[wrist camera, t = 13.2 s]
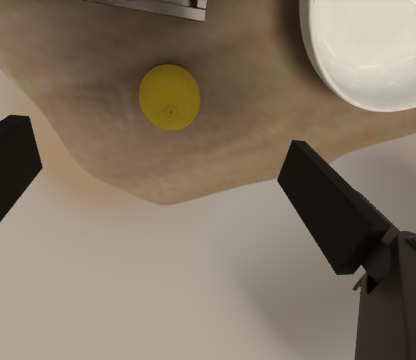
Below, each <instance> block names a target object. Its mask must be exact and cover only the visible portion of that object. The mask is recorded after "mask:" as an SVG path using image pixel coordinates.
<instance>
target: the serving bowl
mask: <svg viewBox="0 0 416 360" xmlns="http://www.w3.org/2000/svg"><path fill="white" fill-rule="evenodd" d="M299 15H300V26H301V32H302V37H303V42H304V45H305V49H306V52H307V54H308V57H309V59H310V61H311V64H312V65H313V67H314V69H315V71H316V72H317V74H318V75H319V77H320V78H321V79H322V81H323V82H324V83H325V84H326V85H327V86H328V87H329V88H330V89H331V90H332V91H333V92H334V93H335V94H336V95H338V96H339V97H340V98H342V99H343V100H344V101H346V102H348V103H350V104H351V105H353V106H356V107H358V108H361V109H365V110H368V111H374V112H396V111H402V110H407V109H411V108H415V107H416V0H299Z"/></svg>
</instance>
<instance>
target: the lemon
mask: <svg viewBox="0 0 416 360" xmlns="http://www.w3.org/2000/svg"><path fill="white" fill-rule="evenodd" d="M139 102H140V106H141V109H142V111H143V113H144V115H145V117H146V118H147V119H148V120H149V121H150V123H152V124H153V125H154V126H156V127H158V128H160V129H162V130H168V131H175V130H179V129H183V128H184V127H186V126H188V125H189V124H190V123H191V122H192V121H193V120H194V118H195V117H196V115H197V113H198V110H199V107H200V91H199V87H198V85H197V83H196V81H195V79H194V78H193V76H192V75H191V74H190V73H189V72H188V71H186V70H185V69H184V68H182V67H179V66H177V65H172V64H164V65H159V66H157V67H155V68H153V69H152V70H150V71H149V72H148V73H147V74H146V75H145V77H144V79H143V80H142V82H141V85H140V89H139Z"/></svg>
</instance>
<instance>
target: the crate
mask: <svg viewBox="0 0 416 360" xmlns="http://www.w3.org/2000/svg"><path fill="white" fill-rule="evenodd" d="M84 1H90V2H95V3H101V4H106V5H112V6H118V7H123V8H129V9H134V10H140V11H145V12H151V13H157V14H162V15H168V16H173V17H179V18H184V19H190V20H195V21H201V22H205V18H206V9H207V1H208V0H84Z"/></svg>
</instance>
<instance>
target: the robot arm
mask: <svg viewBox="0 0 416 360" xmlns="http://www.w3.org/2000/svg"><path fill="white" fill-rule="evenodd" d="M41 169H42V163H41V160H40V156H39V152H38V148H37V145H36V141H35V137H34V133H33V129H32V125H31V122H30V118H29V116H18V115H9V116H7V117H6V118H5V119H3V120H1V121H0V222H1V220H2V219H3V218H4V217H5V215H6V214H7V213H8V211H9V210H10V209H11V208H12V206H13V205H14V204H15V203H16V201H17V200H18V198H19V197H20V196H21V195H22V193H23V192H24V191H25V190H26V188H27V187H28V186H29V184H30V183H31V182H32V181H33V179H34V178H35V177H36V176H37V174H38V173H39V172H40V171H41ZM277 181H278V182H279V184H280V186H281V187H282V189H283V190H284V192H285V194H286V195H287V197H288V198H289V200H290V202H291V203H292V205H293V206H294V208H295V209H296V211H297V213H298V214H299V216H300V217H301V219H302V220H303V222H304V224H305V225H306V227H307V228H308V230H309V232H310V233H311V235H312V236H313V238H314V240H315V241H316V243H317V244H318V246H319V247H320V249H321V251H322V252H323V254H324V255H325V257H326V258H327V260H328V262H329V263H330V265H331V266H332V268H333V270H334V271H335V273H336V274H337V275H348V274H354V273H355V271H356V270H357V269H358V268H359V266H360V265H362V266H363V268H364V269H365V270H366V273H365V274H364V275H363V276H362V277H361V278H360V280H359V281H358V282H357V283H356V285H355V286H354V288H353V290H355V291H356V290H357V289H358V287H361V292H360V305H359V316H358V327H357V338H356V349H355V360H416V234H415V233H412V232H408V231H402V232H400V231H399V230H398V229H397V228H396V227H395V226H394V225H393V224H392V223H391V222H390V221H389V220H388V219H387V218H386V217H385V216H384V215H383V214H382V213H381V212H380V211H379V210H376V208H375V207H374V206H373V205H372V204H371V203H369V201H368V200H367V199H366V198H365V197H364V196H363V195H362V194H360V193H359V192H358V191H356V190H354V189H353V188H352V187H351V186H350V185H349V184H348V183H347V182H346V181H345V180H344V179H343V178H342V177H341V176H340V175H339V174H338V173H337V172H336V171H335V170H334V169H333V168H332V167H330V165H328V164H327V163H326V162H325V161H324V160H323V159H322V158H321V157H320V156H319V155H318V154H317V153H316V152H315V151H314V150H313V149H312V148H311V147H310V146H309V145H308V144H307V143H306V142H305V141H297V140H292V142H291V145H290V148H289V150H288V153H287V156H286V158H285V161H284V163H283V166H282V169H281V171H280V174H279V177H278V179H277Z"/></svg>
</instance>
